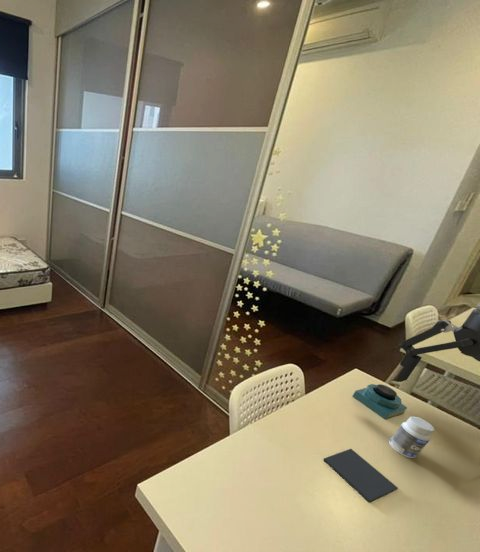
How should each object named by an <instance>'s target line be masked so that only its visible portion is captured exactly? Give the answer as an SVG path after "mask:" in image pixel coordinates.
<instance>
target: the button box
mask: <svg viewBox="0 0 480 552" xmlns="http://www.w3.org/2000/svg"><path fill="white" fill-rule="evenodd" d="M377 385H378V384H373V383H371V384H368V385H367V386H366V387H364V388H360V389H357V390H355V391H354V392H353V394H352V398H354V399H355V400H356V401H358V402H359V403H361V404H362V405H363V406H365V407H366V408H368V409H369V410H371V411H372V412H373V413H375V414H376V415H378V416H379V417H381V418H382V419H384V420H388V419H391V418H394V417H397V416H399V415H402V414H404V413H405V411H406V410H407V409H408V406H406V405H404V404H403V402H402V398H401V397H400V396H399V395H398V394H397V395H396V396H395V398H394V399H393V400H388V399H385V398H383V397H381V396H379V395H378V394H376V393H375V391H374V389H375V388H376V386H377Z"/></svg>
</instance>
